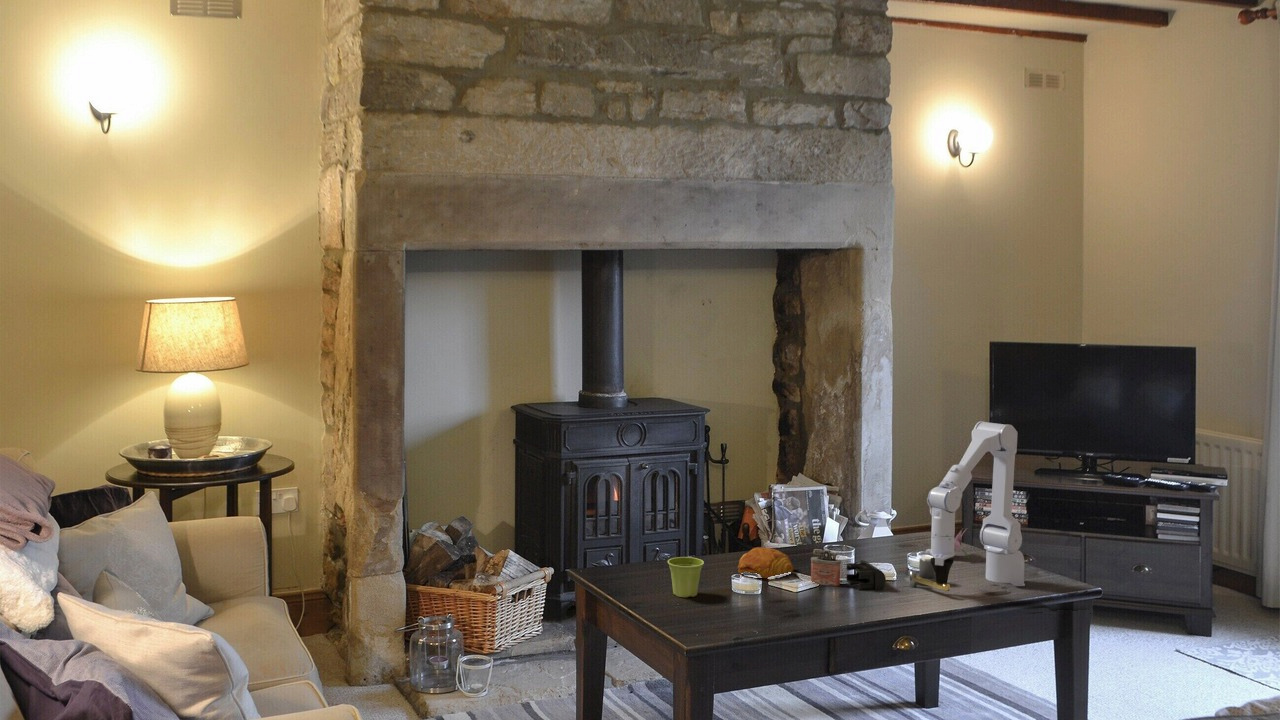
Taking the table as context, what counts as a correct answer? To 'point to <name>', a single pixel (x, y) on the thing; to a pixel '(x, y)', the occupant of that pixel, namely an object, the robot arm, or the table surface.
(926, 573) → the plug
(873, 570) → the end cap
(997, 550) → the robot arm
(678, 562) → the plant pot
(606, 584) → the table surface
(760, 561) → the croissant
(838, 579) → the lighter
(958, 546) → the lily
